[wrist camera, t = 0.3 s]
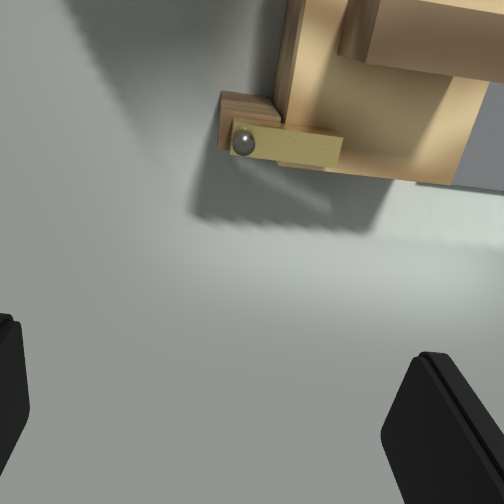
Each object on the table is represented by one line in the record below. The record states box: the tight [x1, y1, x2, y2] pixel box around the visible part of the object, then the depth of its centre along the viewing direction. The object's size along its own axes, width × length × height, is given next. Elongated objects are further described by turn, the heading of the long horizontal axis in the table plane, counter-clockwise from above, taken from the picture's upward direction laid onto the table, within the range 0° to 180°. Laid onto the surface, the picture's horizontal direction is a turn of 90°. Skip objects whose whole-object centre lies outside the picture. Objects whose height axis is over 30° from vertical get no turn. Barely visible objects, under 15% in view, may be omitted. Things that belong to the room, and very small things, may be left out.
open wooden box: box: [217, 0, 302, 150], centre depth 30 cm, size 18×17×8 cm
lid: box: [277, 0, 504, 186], centre depth 24 cm, size 18×13×8 cm
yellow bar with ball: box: [230, 117, 343, 168], centre depth 27 cm, size 2×7×3 cm, turn 82°
